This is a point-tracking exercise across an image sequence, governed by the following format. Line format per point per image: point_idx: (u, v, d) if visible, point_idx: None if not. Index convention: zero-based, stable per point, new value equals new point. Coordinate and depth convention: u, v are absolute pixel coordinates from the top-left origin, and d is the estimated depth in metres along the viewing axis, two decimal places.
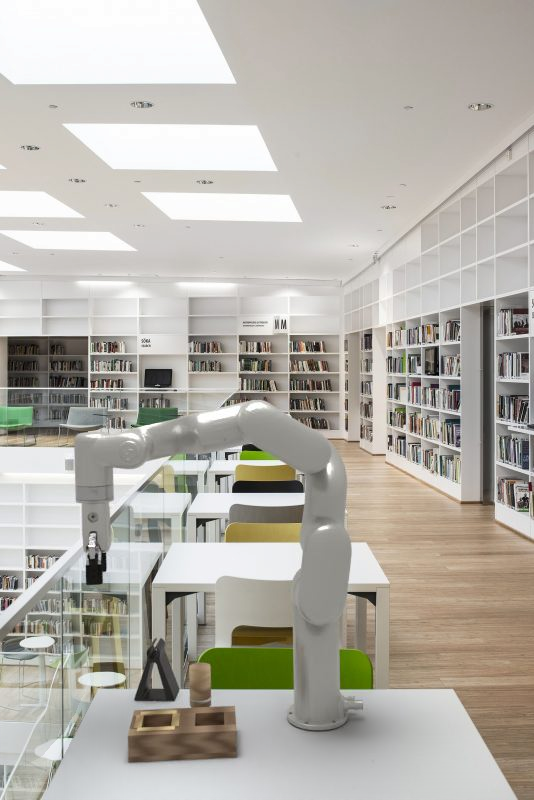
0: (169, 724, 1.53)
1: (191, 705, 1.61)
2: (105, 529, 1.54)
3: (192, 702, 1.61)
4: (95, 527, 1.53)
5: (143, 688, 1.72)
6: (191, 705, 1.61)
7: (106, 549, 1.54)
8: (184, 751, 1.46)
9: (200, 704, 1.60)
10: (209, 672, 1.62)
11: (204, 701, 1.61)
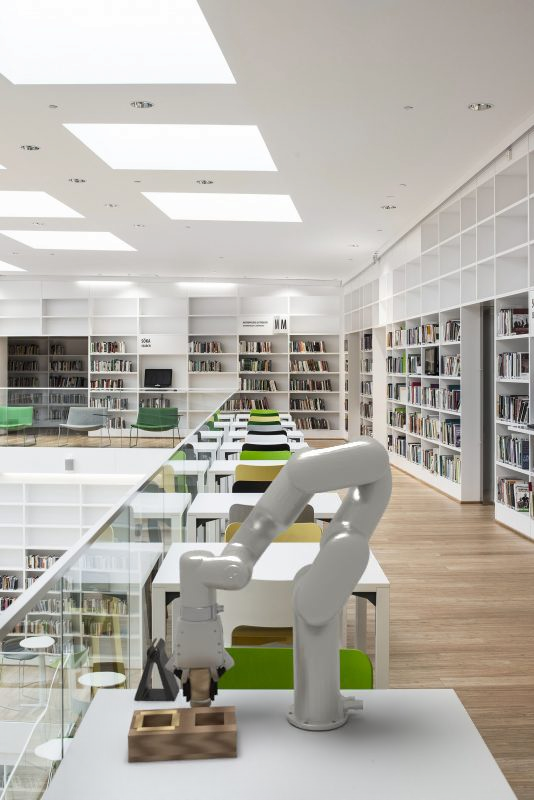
0: (169, 724, 1.53)
1: (191, 705, 1.61)
2: None
3: (192, 702, 1.61)
4: (223, 638, 1.63)
5: (143, 688, 1.72)
6: (191, 705, 1.61)
7: None
8: (184, 751, 1.46)
9: (200, 704, 1.60)
10: (209, 672, 1.62)
11: (204, 701, 1.61)
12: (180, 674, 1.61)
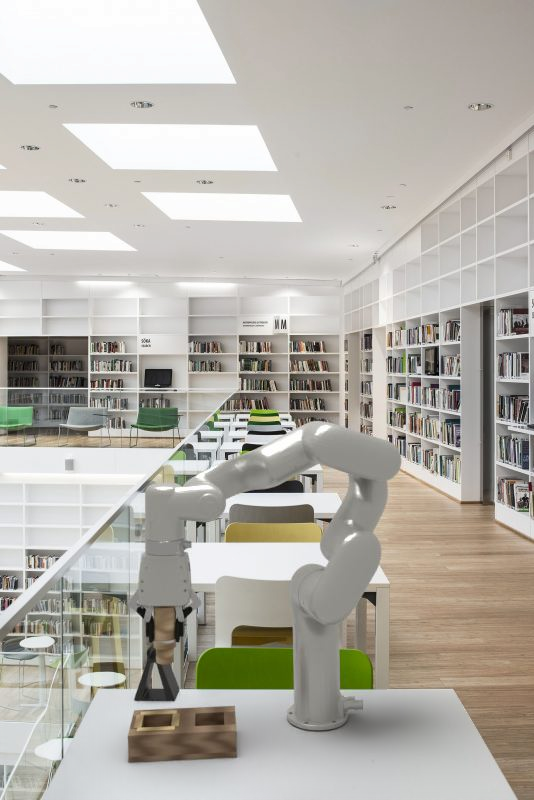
0: (169, 724, 1.53)
1: (154, 645, 1.52)
2: None
3: (155, 642, 1.52)
4: (190, 576, 1.53)
5: (143, 688, 1.72)
6: (154, 645, 1.52)
7: None
8: (184, 751, 1.46)
9: (163, 645, 1.51)
10: (174, 611, 1.52)
11: (168, 642, 1.51)
12: (143, 613, 1.52)
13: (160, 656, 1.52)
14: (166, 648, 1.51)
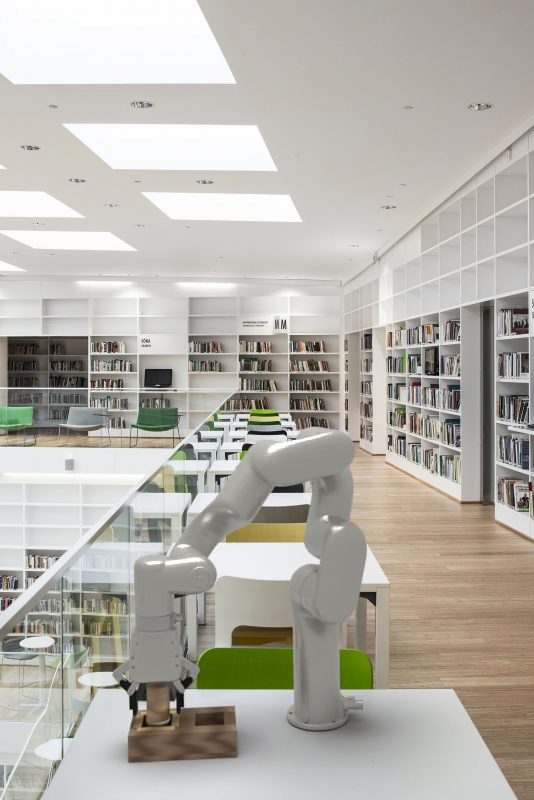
0: None
1: (147, 726, 1.49)
2: None
3: (149, 724, 1.49)
4: None
5: (143, 688, 1.72)
6: (147, 726, 1.49)
7: None
8: (184, 751, 1.46)
9: (157, 726, 1.48)
10: (168, 691, 1.50)
11: (161, 723, 1.49)
12: (126, 686, 1.49)
13: None
14: None
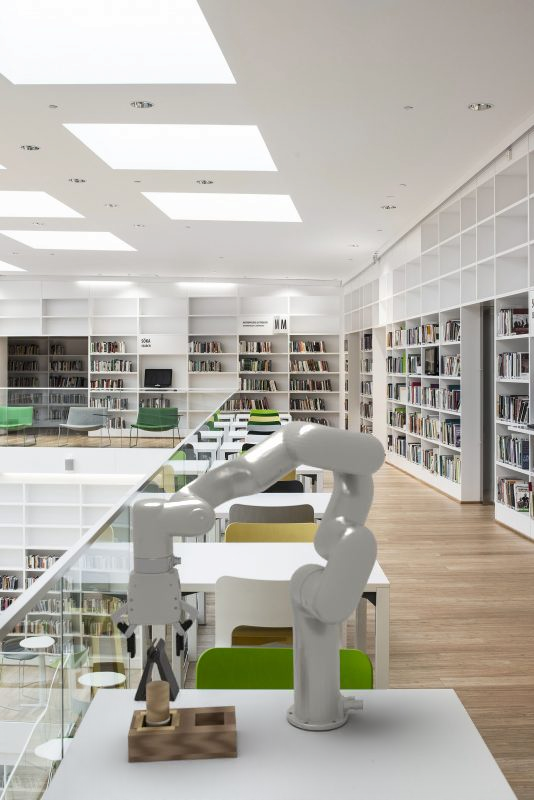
0: None
1: (147, 726, 1.49)
2: None
3: (148, 723, 1.49)
4: (180, 593, 1.50)
5: (143, 688, 1.72)
6: (147, 726, 1.49)
7: None
8: (184, 751, 1.46)
9: (157, 726, 1.48)
10: (167, 691, 1.50)
11: (161, 722, 1.49)
12: (124, 628, 1.49)
13: None
14: None
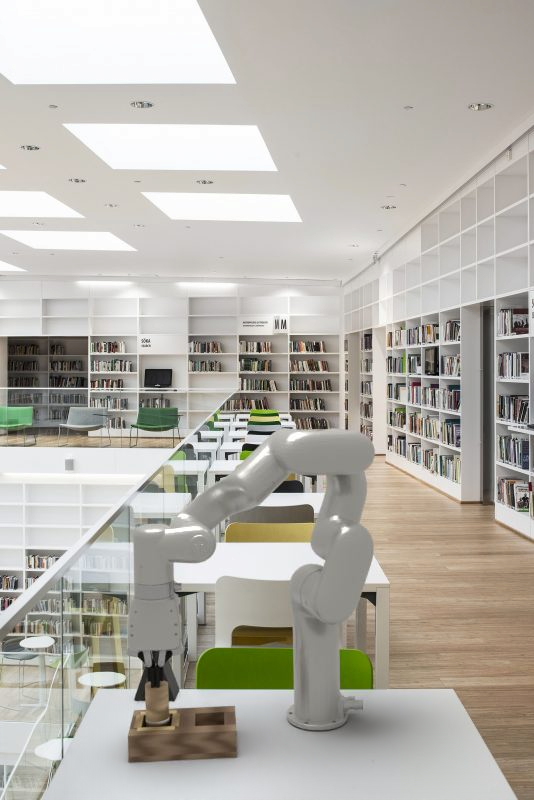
0: (169, 724, 1.53)
1: (147, 726, 1.49)
2: None
3: (148, 723, 1.49)
4: None
5: (143, 688, 1.72)
6: (147, 726, 1.49)
7: None
8: (184, 751, 1.46)
9: (156, 725, 1.49)
10: (166, 690, 1.50)
11: (161, 722, 1.49)
12: None
13: None
14: None
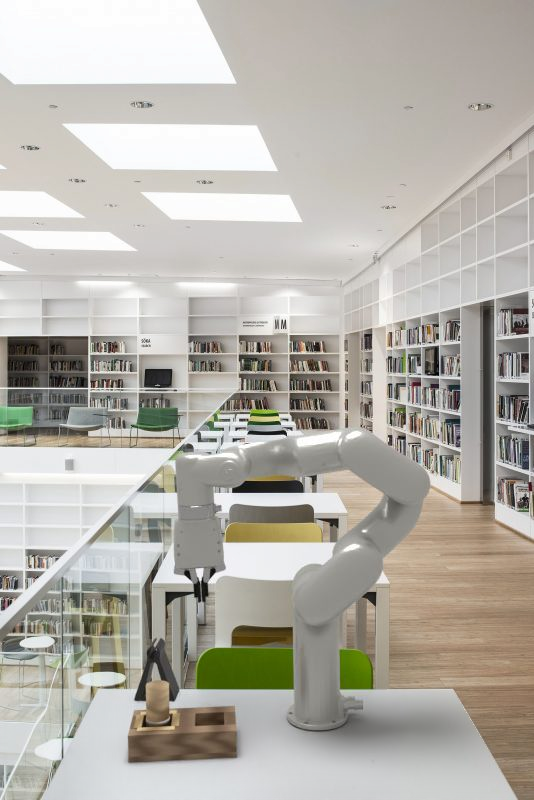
0: None
1: (147, 726, 1.49)
2: None
3: (149, 723, 1.49)
4: None
5: (143, 688, 1.72)
6: (147, 726, 1.49)
7: None
8: (184, 751, 1.46)
9: (157, 726, 1.48)
10: (167, 691, 1.50)
11: (162, 722, 1.49)
12: (191, 575, 1.61)
13: None
14: None
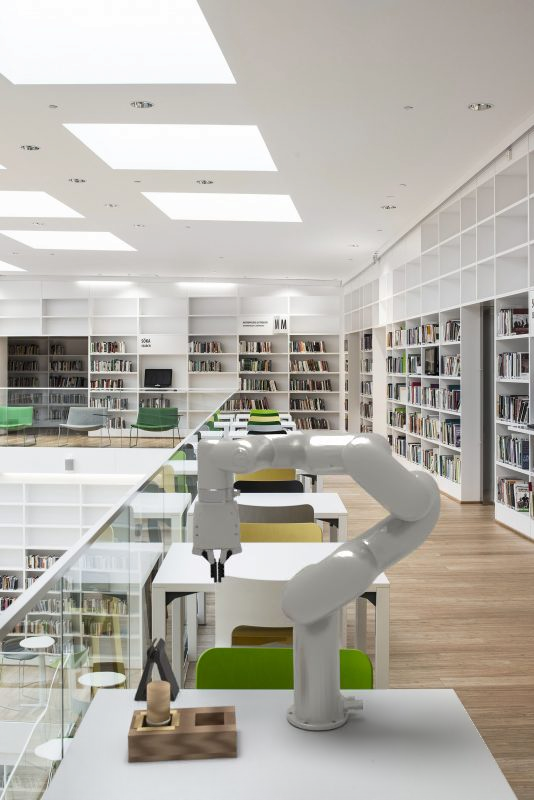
0: None
1: (148, 726, 1.49)
2: None
3: (149, 724, 1.49)
4: None
5: (143, 688, 1.72)
6: None
7: None
8: (184, 751, 1.46)
9: (158, 726, 1.48)
10: (168, 692, 1.50)
11: (162, 723, 1.49)
12: None
13: None
14: None
